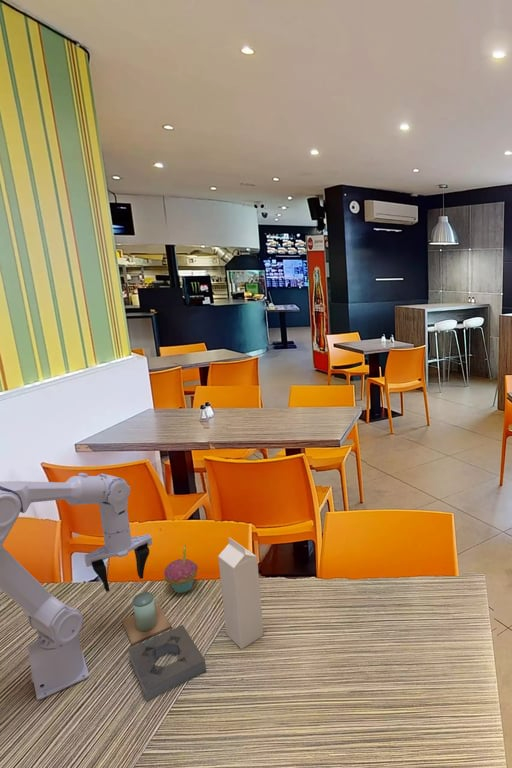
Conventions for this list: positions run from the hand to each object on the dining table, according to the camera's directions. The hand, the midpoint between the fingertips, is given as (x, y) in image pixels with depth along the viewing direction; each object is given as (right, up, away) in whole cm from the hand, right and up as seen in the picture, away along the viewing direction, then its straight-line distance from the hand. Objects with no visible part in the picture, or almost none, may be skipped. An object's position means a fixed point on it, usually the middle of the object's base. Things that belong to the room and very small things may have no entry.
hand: (124, 582), depth 102 cm
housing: (+12, -12, -11) cm, 20 cm away
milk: (+28, -10, -4) cm, 30 cm away
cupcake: (+11, -7, +14) cm, 19 cm away
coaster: (+5, -10, +1) cm, 11 cm away
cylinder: (+5, -10, 0) cm, 11 cm away
